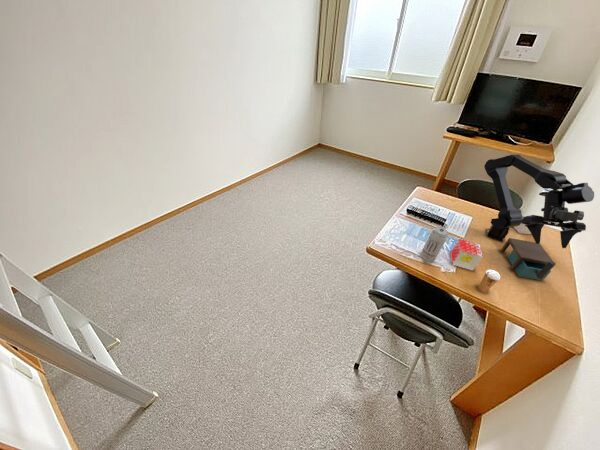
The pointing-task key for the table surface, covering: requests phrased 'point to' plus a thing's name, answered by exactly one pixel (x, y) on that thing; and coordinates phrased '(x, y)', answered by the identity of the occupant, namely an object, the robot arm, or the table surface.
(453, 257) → the red patterned cube box
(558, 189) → the robot arm
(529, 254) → the brown drawer cabinet
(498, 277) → the milkshake
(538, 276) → the drawer
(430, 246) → the energy drink can
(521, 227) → the white cube
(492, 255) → the table surface
